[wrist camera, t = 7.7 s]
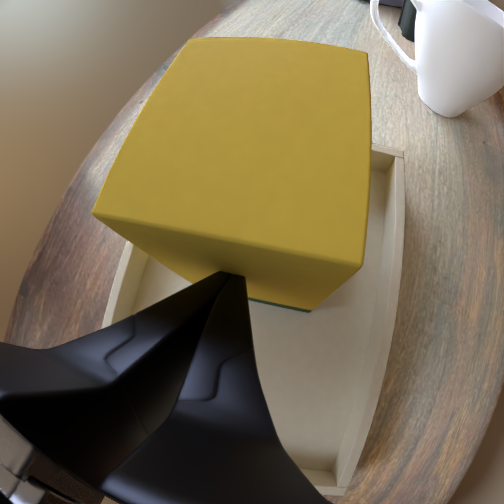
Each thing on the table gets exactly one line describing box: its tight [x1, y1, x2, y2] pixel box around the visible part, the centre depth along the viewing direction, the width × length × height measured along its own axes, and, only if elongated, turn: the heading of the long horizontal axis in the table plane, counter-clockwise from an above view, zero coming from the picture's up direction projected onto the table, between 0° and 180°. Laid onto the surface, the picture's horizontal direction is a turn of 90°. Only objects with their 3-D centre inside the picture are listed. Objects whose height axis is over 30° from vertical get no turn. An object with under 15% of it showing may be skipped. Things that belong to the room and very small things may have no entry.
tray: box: [102, 143, 405, 496], centre depth 14 cm, size 19×14×2 cm
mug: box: [370, 0, 504, 118], centre depth 14 cm, size 12×8×11 cm
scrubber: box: [92, 37, 372, 313], centre depth 11 cm, size 7×6×10 cm
